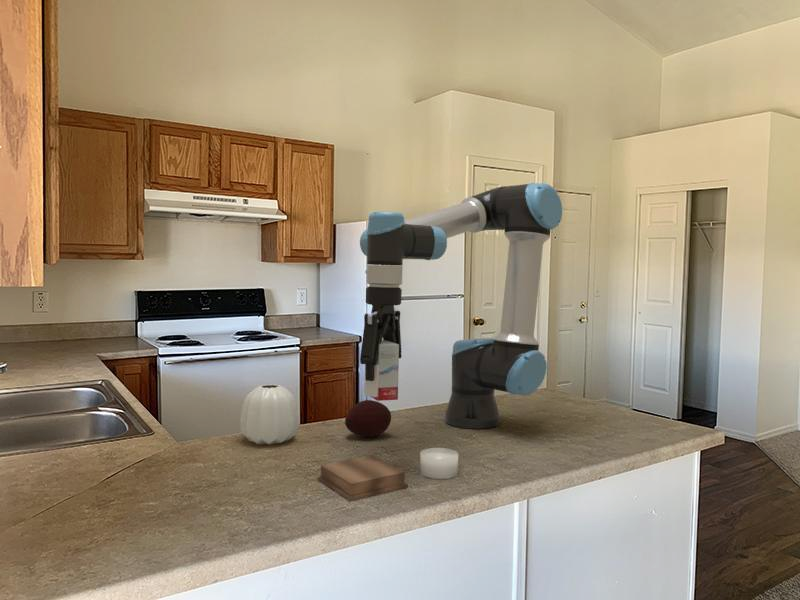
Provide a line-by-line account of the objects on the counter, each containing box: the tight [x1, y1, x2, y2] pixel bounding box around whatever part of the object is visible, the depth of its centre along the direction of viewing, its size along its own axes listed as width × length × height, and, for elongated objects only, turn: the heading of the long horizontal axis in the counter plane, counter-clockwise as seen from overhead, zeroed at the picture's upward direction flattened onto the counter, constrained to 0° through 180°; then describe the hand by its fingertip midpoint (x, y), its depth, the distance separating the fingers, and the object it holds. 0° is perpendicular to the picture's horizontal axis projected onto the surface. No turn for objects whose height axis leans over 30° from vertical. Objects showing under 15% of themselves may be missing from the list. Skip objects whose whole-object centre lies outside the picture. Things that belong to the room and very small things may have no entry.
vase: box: [239, 383, 300, 445], centre depth 150 cm, size 14×14×13 cm
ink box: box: [363, 339, 400, 402], centre depth 130 cm, size 9×5×12 cm, turn 22°
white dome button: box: [419, 447, 459, 480], centre depth 129 cm, size 8×8×4 cm
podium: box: [317, 455, 409, 502], centre depth 122 cm, size 13×13×3 cm
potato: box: [344, 399, 392, 438], centre depth 154 cm, size 9×12×9 cm
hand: (380, 391), depth 131 cm, fingers closed on ink box, 9 cm apart
